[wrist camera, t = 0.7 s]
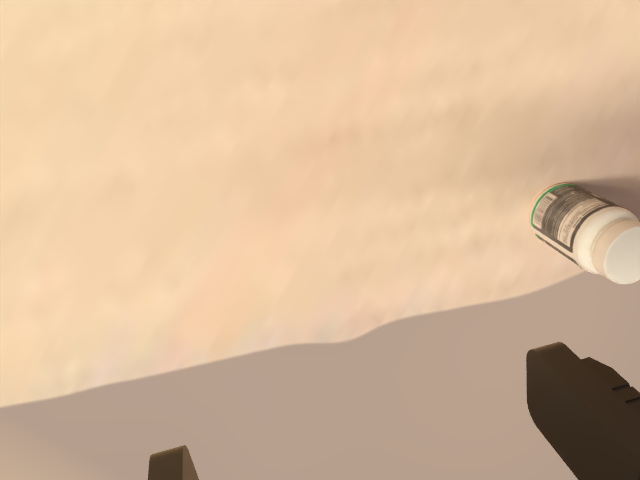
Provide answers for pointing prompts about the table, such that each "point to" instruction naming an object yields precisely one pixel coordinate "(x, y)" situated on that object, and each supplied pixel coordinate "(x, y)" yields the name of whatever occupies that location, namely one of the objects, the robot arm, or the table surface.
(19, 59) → the table surface
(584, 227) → the pill bottle
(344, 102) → the table surface
